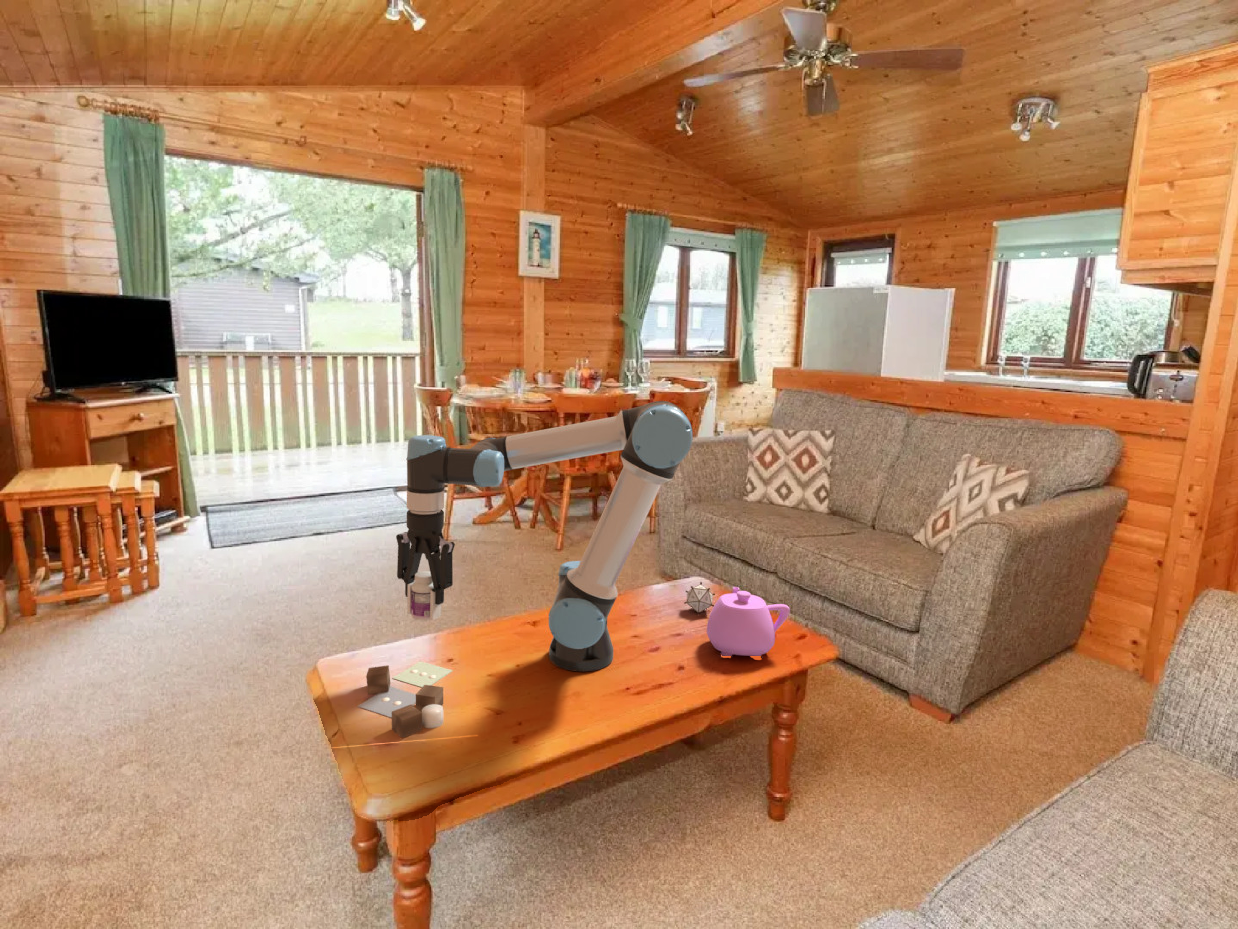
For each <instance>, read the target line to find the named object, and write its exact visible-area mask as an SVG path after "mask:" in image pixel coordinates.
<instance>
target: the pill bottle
mask: <svg viewBox="0 0 1238 929" xmlns="http://www.w3.org/2000/svg"><path fill="white" fill-rule="evenodd" d="M414 582H415V583H413V585H412V587H411V614H410V615H411V618H412V619H413V620H415V621H419V622H428V621H431V620H430V590H431V589H434V587H433V582H432V578H431V573H430V570H421V571H418V572H417V573H416V574H415V580H414Z"/></svg>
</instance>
